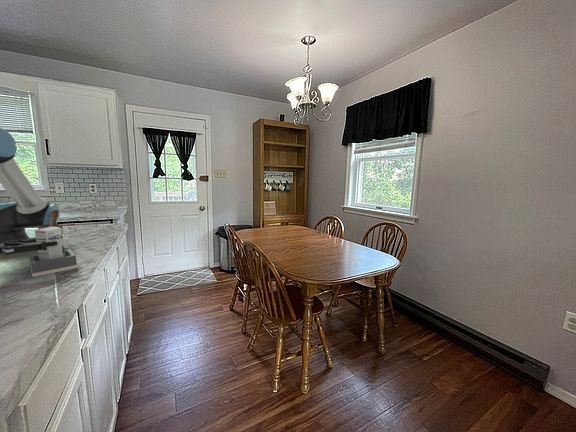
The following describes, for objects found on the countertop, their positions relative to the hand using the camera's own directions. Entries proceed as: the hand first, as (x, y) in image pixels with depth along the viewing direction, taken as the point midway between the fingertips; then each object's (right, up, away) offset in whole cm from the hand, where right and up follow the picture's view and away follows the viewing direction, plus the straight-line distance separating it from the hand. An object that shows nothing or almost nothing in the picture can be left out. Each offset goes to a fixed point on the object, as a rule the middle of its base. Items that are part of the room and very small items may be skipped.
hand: (66, 239), depth 105 cm
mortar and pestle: (-24, -8, +21) cm, 33 cm away
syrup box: (-3, -10, -2) cm, 10 cm away
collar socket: (-3, -11, -2) cm, 12 cm away
